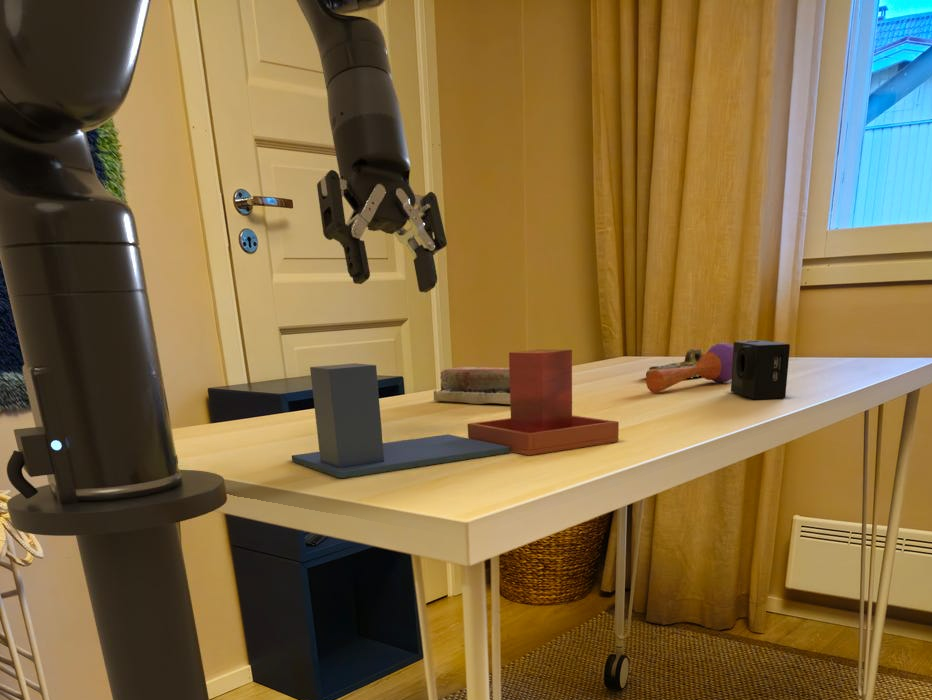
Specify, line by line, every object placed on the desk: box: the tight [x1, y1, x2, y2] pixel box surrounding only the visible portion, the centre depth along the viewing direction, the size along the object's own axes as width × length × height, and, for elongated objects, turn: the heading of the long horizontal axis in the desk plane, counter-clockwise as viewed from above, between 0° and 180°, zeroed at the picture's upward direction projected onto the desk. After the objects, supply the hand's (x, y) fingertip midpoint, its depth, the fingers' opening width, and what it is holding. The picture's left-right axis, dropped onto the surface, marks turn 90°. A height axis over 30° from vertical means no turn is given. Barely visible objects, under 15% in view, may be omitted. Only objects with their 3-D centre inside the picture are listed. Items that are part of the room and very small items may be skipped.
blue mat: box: [291, 433, 511, 479], centre depth 84 cm, size 18×12×1 cm, turn 122°
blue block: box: [309, 362, 384, 468], centre depth 78 cm, size 4×4×8 cm
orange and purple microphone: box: [645, 342, 734, 394], centre depth 132 cm, size 6×6×20 cm
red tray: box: [467, 414, 620, 456], centre depth 88 cm, size 11×11×2 cm
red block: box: [508, 348, 573, 433], centre depth 87 cm, size 4×4×8 cm
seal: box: [645, 348, 704, 379], centre depth 148 cm, size 9×5×15 cm
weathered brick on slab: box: [433, 366, 510, 405], centre depth 125 cm, size 18×5×10 cm
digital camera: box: [730, 340, 791, 400], centre depth 117 cm, size 10×5×7 cm, turn 2°
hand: (396, 285), depth 90 cm, fingers open, 8 cm apart
